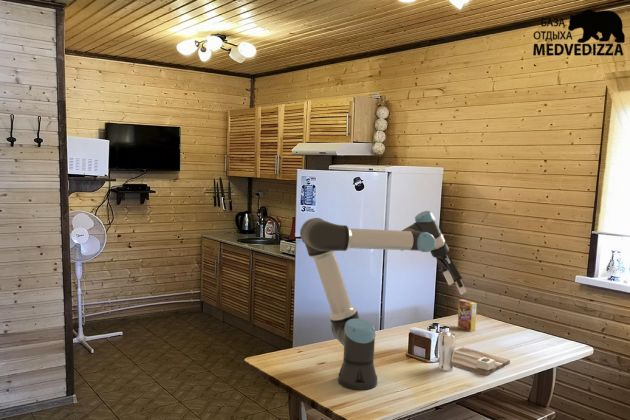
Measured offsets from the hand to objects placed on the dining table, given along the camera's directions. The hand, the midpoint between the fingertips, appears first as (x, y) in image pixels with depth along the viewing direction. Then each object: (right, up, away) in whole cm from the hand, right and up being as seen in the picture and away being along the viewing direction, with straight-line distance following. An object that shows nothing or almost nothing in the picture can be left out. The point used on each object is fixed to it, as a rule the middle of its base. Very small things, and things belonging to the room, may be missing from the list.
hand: (457, 288), depth 227 cm
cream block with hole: (+10, -32, -6) cm, 34 cm away
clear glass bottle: (-6, -33, -4) cm, 34 cm away
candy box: (+20, -30, +56) cm, 66 cm away
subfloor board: (+9, -33, +5) cm, 35 cm away
